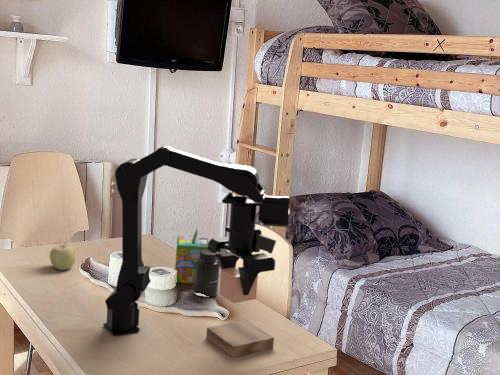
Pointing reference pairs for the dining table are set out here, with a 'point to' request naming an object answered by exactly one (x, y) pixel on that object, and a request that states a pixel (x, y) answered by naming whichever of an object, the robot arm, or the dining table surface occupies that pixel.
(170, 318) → the dining table surface
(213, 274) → the supplement bottle
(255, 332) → the walnut base
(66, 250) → the fruit
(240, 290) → the terracotta cube
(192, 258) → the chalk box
